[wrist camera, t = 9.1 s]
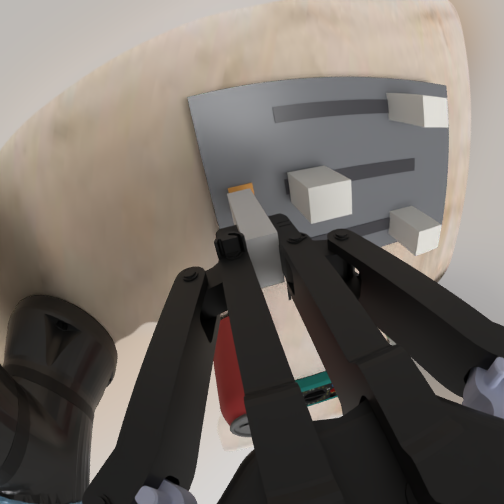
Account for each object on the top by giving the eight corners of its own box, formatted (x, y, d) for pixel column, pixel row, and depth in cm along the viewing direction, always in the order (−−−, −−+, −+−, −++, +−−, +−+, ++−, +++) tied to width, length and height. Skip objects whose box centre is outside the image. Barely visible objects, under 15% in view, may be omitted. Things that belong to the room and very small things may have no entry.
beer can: (205, 314, 28) (219, 417, 18) (267, 305, 29) (303, 401, 19) (214, 353, 31) (228, 443, 21) (267, 344, 32) (296, 430, 22)
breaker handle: (291, 202, 20) (311, 223, 17) (287, 172, 19) (308, 188, 16) (326, 194, 21) (352, 213, 17) (324, 165, 19) (351, 179, 16)
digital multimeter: (345, 381, 43) (351, 393, 40) (265, 405, 41) (269, 419, 39) (351, 358, 39) (359, 372, 37) (261, 385, 38) (265, 401, 35)
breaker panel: (231, 273, 26) (244, 323, 20) (188, 98, 18) (184, 93, 12) (428, 218, 28) (466, 245, 22) (430, 84, 19) (479, 90, 14)
